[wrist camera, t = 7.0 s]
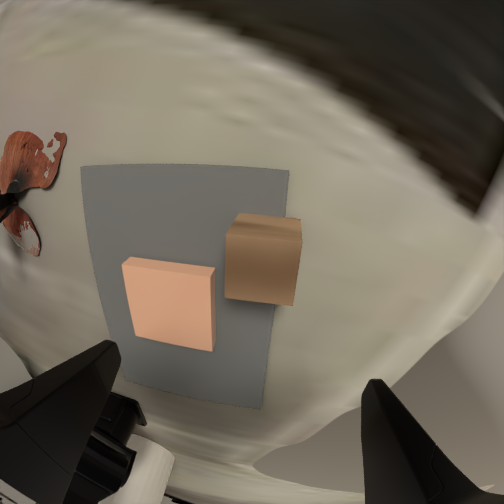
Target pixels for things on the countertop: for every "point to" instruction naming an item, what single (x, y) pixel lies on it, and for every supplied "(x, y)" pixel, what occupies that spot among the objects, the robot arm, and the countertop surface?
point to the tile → (172, 302)
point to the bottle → (145, 474)
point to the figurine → (24, 178)
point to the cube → (262, 258)
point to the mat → (186, 252)
